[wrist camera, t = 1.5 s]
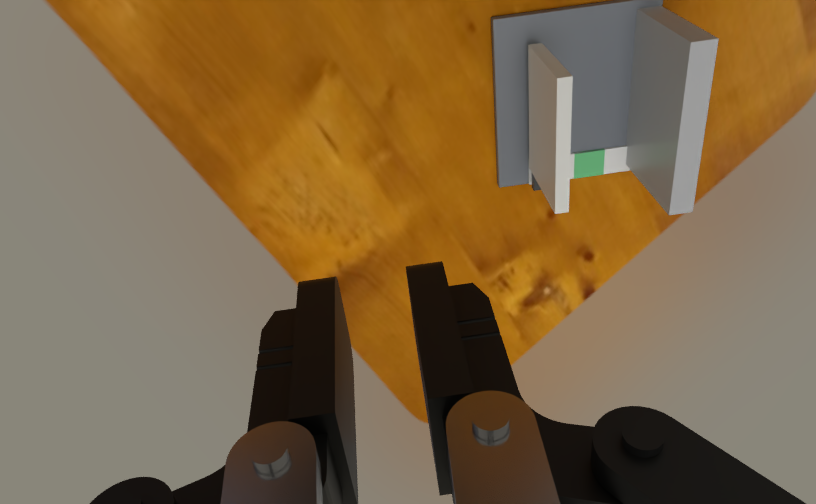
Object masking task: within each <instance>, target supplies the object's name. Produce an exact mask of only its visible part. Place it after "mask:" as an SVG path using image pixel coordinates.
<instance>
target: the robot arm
mask: <svg viewBox="0 0 816 504" xmlns="http://www.w3.org/2000/svg"><path fill="white" fill-rule="evenodd" d="M406 272H407V280H408V287H409V295H410V302H411V309H412V317H413V324H414V331H415V338H416V345H417V352H418V359H419V365H420V371H421V378H422V384H423V391H424V397H425V403H426V410H427V416H428V423H429V428H430V435H431V442H432V448H433V454H434V461H435V467H436V473H437V480H438V485H439V492H440V495H446V494H452V497H453V503H454V504H805V503H804V502H803V501H801V500H799V499H798V498H796V497H795V496H793V495H791V494H790V493H789V492H787V491H785V490H784V489H782V488H781V487H779V486H778V485H776V484H775V483H773V482H771V481H770V480H768V479H767V478H765V477H764V476H762V475H761V474H759V473H757V472H756V471H754V470H753V469H751V468H749V467H748V466H747V465H745V464H743V463H742V462H740V461H739V460H737V459H736V458H734V457H732V456H731V455H729V454H728V453H726V452H725V451H723V450H722V449H720V448H718V447H717V446H715V445H714V444H712V443H711V442H709V441H707V440H706V439H704V438H703V437H701V436H700V435H698V434H697V433H695V432H694V431H692V430H690V429H689V428H687V427H686V426H684V425H683V424H681V423H680V422H678V421H676V420H675V419H673V418H672V417H670V416H668V415H666V414H665V413H662V412H660V411H657V410H654V409H651V408H646V407H640V406H629V407H621V408H617V409H614V410H612V411H610V412H608V413H606V414H605V415H604V416H602V417H601V418H600V419H599V420H598V422H597V423H596V425H595V427H590V426H582V425H574V424H566V423H561V422H557V421H553V420H550V419H548V418H546V417H543V416H542V415H540V414H538V413H537V412H535V411H534V410H533V409H531V408H530V407H529V406H528V405H527V404H526V403H525V401H524V400H523V398H522V397H521V395H520V393H519V390H518V387H517V384H516V381H515V378H514V375H513V371H512V368H511V365H510V362H509V359H508V356H507V353H506V350H505V347H504V344H503V341H502V337H501V335H500V331H499V328H498V325H497V322H496V320H495V316H494V313H493V310H492V306H491V303H490V300H489V297H487V296H486V295H485V294H484V293H483V292H482V291H481V290H480V289H479V288H478V287H477V286H476V285H474V284H473V283H468V284H461V285H454V286H448V282H447V278H446V274H445V270H444V266H443V263H442V261H441V262H434V263H427V264H420V265H413V266H406ZM354 402H355V400H354V373H353V358H352V349H351V343H350V337H349V332H348V327H347V322H346V318H345V313H344V308H343V303H342V298H341V293H340V289H339V284H338V280H337V278H336V277H330V278H323V279H316V280H309V281H302V282H299V283H298V291H297V305H296V308H295V309H288V310H281V311H275V312H274V313H273V315H272V316H271V318H270V319H269V321H268V322H267V324H266V325H265V326H264V328H263V329H262V332H261V339H260V346H259V354H258V360H257V371H256V374H255V381H254V388H253V395H252V402H251V410H250V417H249V423H248V431H247V433H246V434H245V435H243V436H242V437H241V438H240V439H239V440H238V441H237V442H236V443H235V445H234V446H233V447H232V449H231V450H230V452H229V454H228V457H227V460H226V464H225V465H224V466H223V467H222V468H221V469H219V470H218V471H216V472H214V473H213V474H211V475H209V476H207V477H205V478H202V479H200V480H198V481H195V482H193V483H191V484H188V485H186V486H184V487H181V488H179V489H177V490H174V491H171V490H170V488H169V486H168V485H166V484H165V483H164V482H162V481H160V480H159V479H156V478H151V477H137V478H132V479H128V480H125V481H122V482H120V483H117V484H115V485H113V486H112V487H110V488H108V489H106V490H105V491H104V492H103V493H101V494H100V495H98V496H97V497H96V498H95V499H94V500H93V501H92V502H91V503H90V504H358V487H357V459H356V429H355V403H354Z"/></svg>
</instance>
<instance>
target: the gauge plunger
mask: <svg viewBox="0 0 816 504" xmlns="http://www.w3.org/2000/svg"><path fill="white" fill-rule="evenodd" d="M528 76H529V168H530V170H531V172H532V188H533V190H534V191H535V190H542V192H543V193H544V195H545V197H546V199H547V201H548V202H549V204H550V206H551V208H552V210H553V211H554V213H555V214H558V213H565V212H569V186H570V152H571V118H572V84H573V76H572V75H571V74H570V73H569V72H568V71H567V69H566V68H565V67H564V66H563V65H562V64H561V63H560V62H559V61H558V60H557V59H556V58H555V57H554V55H553V54H552V53H551V52H550V51H549V50H548V49H547V48H546V47H545V46H544V45H543V44H542V43H537V44H530V45H528Z"/></svg>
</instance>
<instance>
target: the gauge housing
mask: <svg viewBox="0 0 816 504" xmlns="http://www.w3.org/2000/svg"><path fill="white" fill-rule="evenodd" d="M662 4H663V0H613V1H605V2H598V3H591V4H584V5H576V6H569V7H562V8H554V9H547V10H540V11H533V12H525V13H518V14H511V15H503V16H496V17H491V29H492V55H493V81H494V107H495V133H496V159H497V183H498V186H499V187H506V186H513V185H520V184H527V183H529V185H530V184H532V172H531V170H530V168H529V76H528V45H530V44H537V43H542V44H543V45H544V46H545V47H546V48H547V49H548V50H549V51H550V52H551V53H552V54H553V55H554V57H555V58H556V59H557V60H558V61H559V62H560V63H561V64H562V65H563V66H564V67H565V68H566V69H567V71H568V72H569V73H570V74H571V75H572V76H573V84H572V118H571V152H570V179H573V178H574V179H575V178H582V177H589V176H596V175H603V174H608V173H615V172H622V171H629V170H631V171H632V172H633V173H634V175H635V176H636V177H637V178H638V179H639V180H640V182H641V183H642V184H643V185H644V186H645V188H646V189H647V190H648V191H649V192H650V193H651V195H652V196H653V197H654V198H655V199H656V201H657V202H658V203H659V204H660V205H661V206H662V208H663V209H664V210H665V211H666V212H667V214H668V215H674V214H681V213H688V212H692V211H693V206H694V200H695V193H696V186H697V180H698V173H699V166H700V159H701V153H702V146H703V139H704V133H705V126H706V119H707V113H708V106H709V99H710V93H711V86H712V79H713V73H714V66H715V59H716V52H717V46H718V38H717V37H715V36H713V35H711V34H710V33H708V32H706V31H704V30H703V29H701V28H699V27H697V26H696V25H694V24H692V23H690V22H689V21H687V20H685V19H683V18H682V17H680V16H678V15H676V14H675V13H673V12H671V11H669V10H668V9H666V8H664V7H662Z"/></svg>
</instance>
